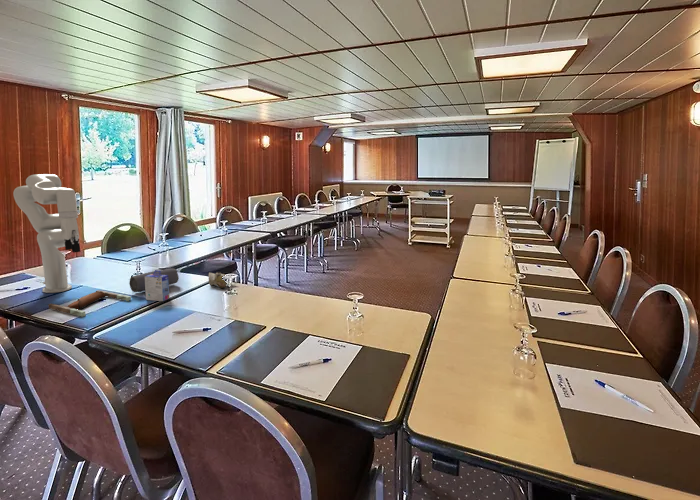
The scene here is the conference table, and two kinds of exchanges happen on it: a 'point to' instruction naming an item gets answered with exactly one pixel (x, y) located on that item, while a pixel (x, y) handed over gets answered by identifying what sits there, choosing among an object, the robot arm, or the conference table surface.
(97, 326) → the conference table surface
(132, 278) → the bluetooth speaker
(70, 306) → the brown bottle
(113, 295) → the beige rail frame
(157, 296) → the ink cartridge box
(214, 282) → the ceramic sculpture
